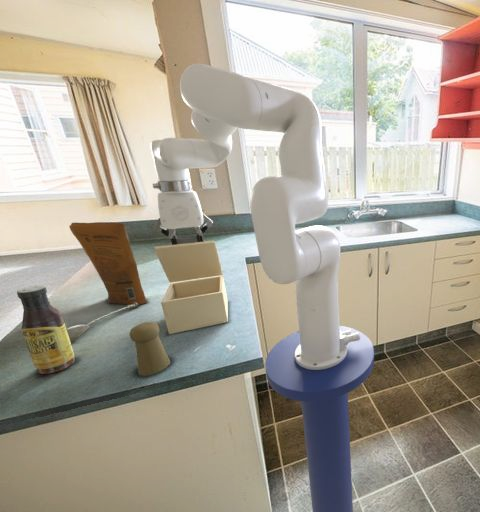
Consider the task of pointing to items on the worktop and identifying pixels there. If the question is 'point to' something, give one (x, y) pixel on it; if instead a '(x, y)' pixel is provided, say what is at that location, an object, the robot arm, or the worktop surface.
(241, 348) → the worktop surface
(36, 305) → the sauce bottle
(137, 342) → the cork
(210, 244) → the lid
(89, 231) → the pancake mix bag
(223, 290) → the cream open box
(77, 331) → the soupspoon
